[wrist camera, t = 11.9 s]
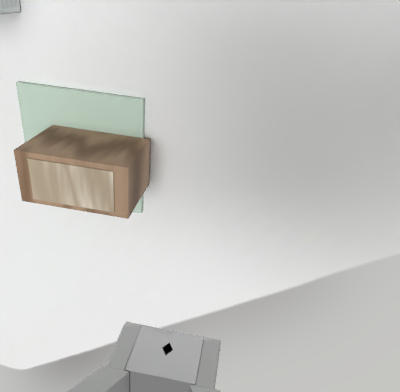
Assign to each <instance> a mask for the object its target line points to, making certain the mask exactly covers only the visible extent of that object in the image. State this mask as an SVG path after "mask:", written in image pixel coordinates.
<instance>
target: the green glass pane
mask: <svg viewBox="0 0 400 392" xmlns="http://www.w3.org/2000/svg"><path fill="white" fill-rule="evenodd" d="M16 85H17V92H18V99H19V105H20V112H21V119H22V125H23V132H24V138H25V142H27V141H29V140H30V139H32V138H33V137H35V136H36V135H38V134H39V133H41V132H42V131H44V130H45V129H47V128H48V127H50V126H51V125H58V126H64V127H71V128H78V129H85V130H91V131H98V132H105V133H112V134H119V135H125V136H132V137H139V138H144V105H145V98H137V97H130V96H123V95H115V94H108V93H101V92H94V91H86V90H79V89H72V88H64V87H57V86H50V85H42V84H35V83H28V82H21V81H18V82H16ZM142 211H143V195H142V197H141V198H140V200H139V202H138V203H137V205H136V207H135V208H134V210H133V212H137V213H142Z"/></svg>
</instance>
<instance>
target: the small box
mask: <svg viewBox="0 0 400 392" xmlns="http://www.w3.org/2000/svg"><path fill="white" fill-rule="evenodd" d="M20 11H21V10H20V2H19V0H0V14H7V13H18V12H20Z"/></svg>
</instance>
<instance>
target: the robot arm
mask: <svg viewBox="0 0 400 392" xmlns="http://www.w3.org/2000/svg"><path fill="white" fill-rule="evenodd" d="M220 344H221V341H220V340H217V339H213V338H207V337H204V336H198V335H193V334H187V333H181V332H175V331H168V330H164V329H159V328H155V327H150V326H146V325H141V324H136V323H131V322H126V323H125V325H124V326H123V328H122V331H121V333H120V335H119V338H118V340H117V342H116V345H115V347H114V350H113V352H112V354H111V357H110V359H109V361H108V364H107V366H106V367H104V366H101V367H99V368H98V369H97V370H96V371H94V372H93V373H92V374H90V375H89V376H87V377H86V378H85V379H83V380H82V381H81V382H80V383H78V384H77V385H75V386H74V387H73V388H71V389H70V390H69V391H68V392H220V391H219V390H216V389H215V382H216V375H217V367H218V360H219V351H220Z"/></svg>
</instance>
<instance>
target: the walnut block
mask: <svg viewBox="0 0 400 392" xmlns="http://www.w3.org/2000/svg"><path fill="white" fill-rule="evenodd" d="M14 155H15V160H16V166H17V172H18V178H19V184H20V190H21V196H22V201H27V202H33V203H39V204H45V205H51V206H56V207H62V208H68V209H74V210H80V211H86V212H92V213H98V214H104V215H110V216H116V217H122V218H129V217H130V215H131V213H132V212H133V210H134V208H135V207H136V205H137V203H138V202H139V200H140V198H141V197H142V195H143V193H144V192H145V190H146V188H147V187H148V185H149V161H150V139H146V138H139V137H132V136H125V135H119V134H112V133H105V132H98V131H91V130H85V129H78V128H71V127H64V126H58V125H51V126H50V127H48V128H47V129H45V130H44V131H42V132H41V133H39V134H38V135H36V136H35V137H33V138H32V139H30V140H29V141H27V142H25V143H24V144H22V145H21V146H19V147H18V148H16V149H15V150H14Z"/></svg>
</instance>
